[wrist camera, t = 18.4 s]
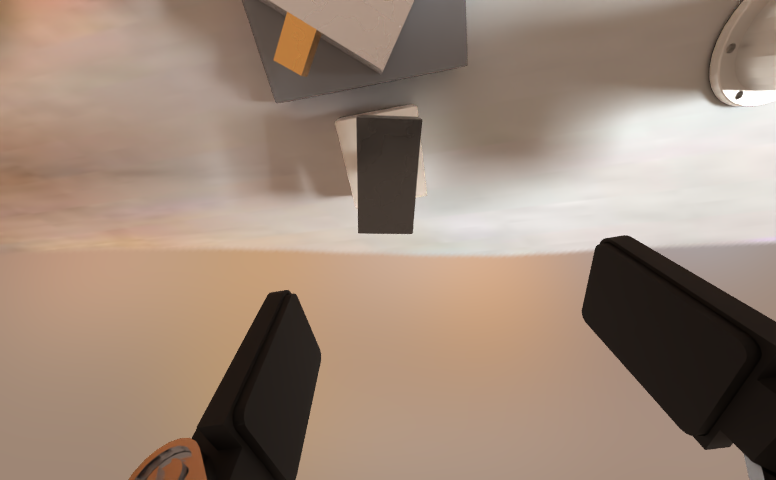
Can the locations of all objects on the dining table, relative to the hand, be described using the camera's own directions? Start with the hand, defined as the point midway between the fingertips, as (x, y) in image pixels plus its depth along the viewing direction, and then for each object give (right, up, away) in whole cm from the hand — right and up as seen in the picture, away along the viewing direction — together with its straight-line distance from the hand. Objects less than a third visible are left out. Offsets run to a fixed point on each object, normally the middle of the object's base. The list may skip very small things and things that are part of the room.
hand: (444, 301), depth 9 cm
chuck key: (-2, +12, +23) cm, 26 cm away
